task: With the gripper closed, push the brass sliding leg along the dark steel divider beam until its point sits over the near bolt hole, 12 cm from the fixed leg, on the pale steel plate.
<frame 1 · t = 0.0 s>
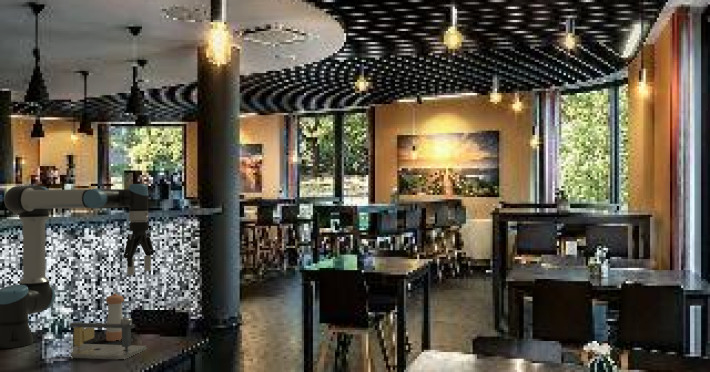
hand: (139, 273, 277), 28 cm above the table, fingers open, 13 cm apart
bolt plate: (102, 353, 256), on the table
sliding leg: (83, 335, 261), point 6 cm above the table, slide at 0.0 cm
salt shaker: (115, 339, 281), on the table
divider beam: (102, 333, 256), on the bolt plate, point 8 cm above the table
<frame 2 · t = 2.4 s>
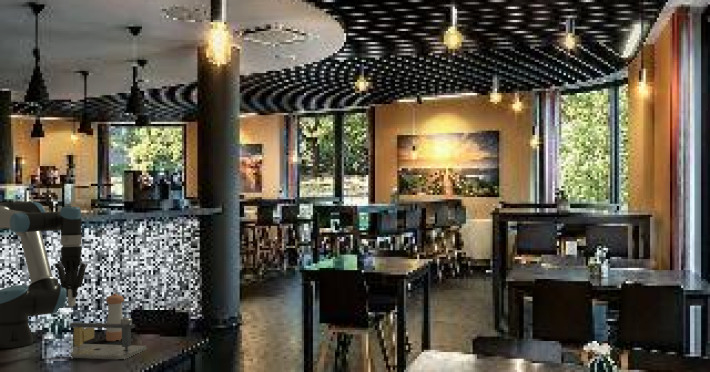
hand: (71, 305, 265), 17 cm above the table, fingers closed
nothing on the table moved.
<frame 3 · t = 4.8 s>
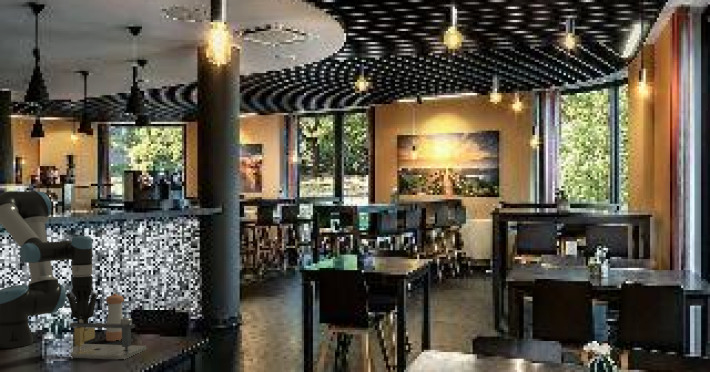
hand: (83, 335, 264), 5 cm above the table, fingers closed
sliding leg: (84, 335, 261), point 6 cm above the table, slide at 0.2 cm, touching gripper
everything else where it was.
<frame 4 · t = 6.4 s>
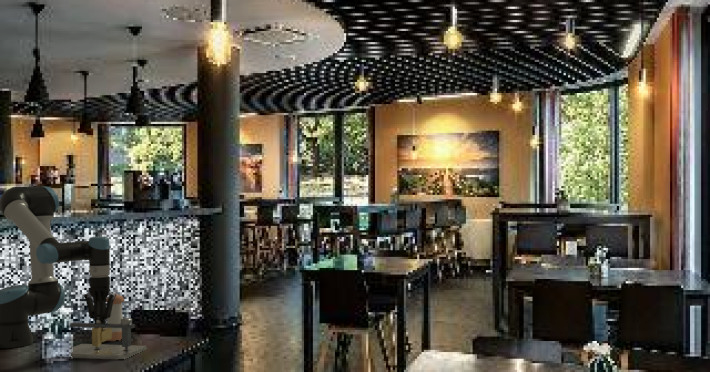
hand: (100, 336, 263), 5 cm above the table, fingers closed
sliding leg: (101, 335, 260), point 6 cm above the table, slide at 7.6 cm, touching gripper
everything else where it was.
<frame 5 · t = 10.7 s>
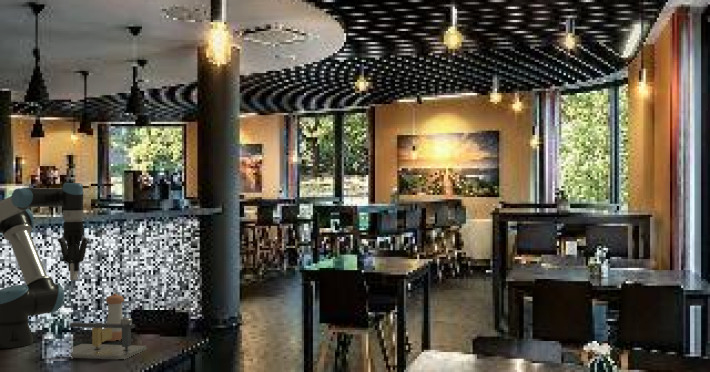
hand: (73, 279, 272), 26 cm above the table, fingers closed
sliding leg: (101, 335, 260), point 6 cm above the table, slide at 7.7 cm
everything else where it was.
at the end: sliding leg slide at 7.7 cm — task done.
